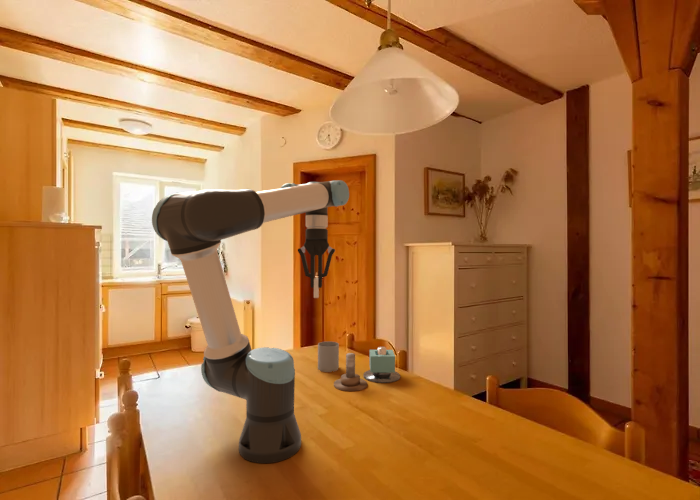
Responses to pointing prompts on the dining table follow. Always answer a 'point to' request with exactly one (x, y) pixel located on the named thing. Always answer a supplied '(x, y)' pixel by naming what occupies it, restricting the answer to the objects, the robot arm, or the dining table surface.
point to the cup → (328, 356)
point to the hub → (381, 376)
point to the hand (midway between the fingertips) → (316, 297)
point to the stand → (350, 377)
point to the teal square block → (382, 361)
